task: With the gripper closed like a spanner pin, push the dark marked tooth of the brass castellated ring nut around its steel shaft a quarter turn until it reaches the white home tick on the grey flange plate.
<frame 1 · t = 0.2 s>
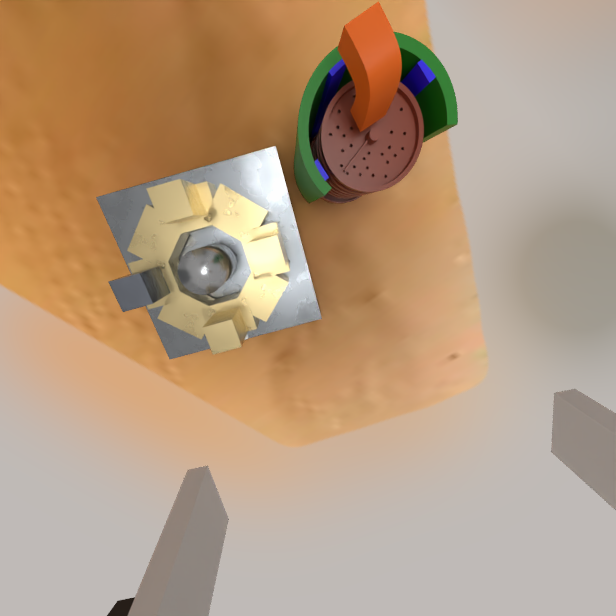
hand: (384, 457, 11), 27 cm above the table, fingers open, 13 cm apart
motor: (334, 163, 34), on the table
ring nut: (208, 268, 31), point 5 cm above the table, hinge at 0.0°
flange plate: (220, 260, 36), on the table
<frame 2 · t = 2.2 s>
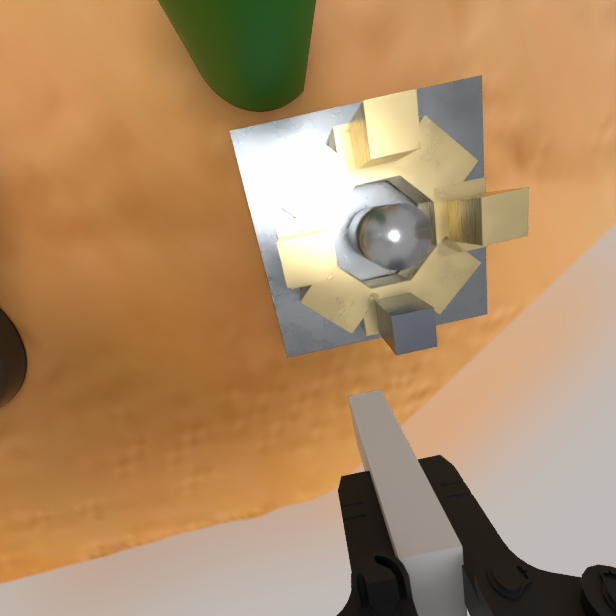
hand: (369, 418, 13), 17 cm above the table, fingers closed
motor: (249, 42, 23), on the table
ring nut: (387, 235, 22), point 5 cm above the table, hinge at 0.0°
flange plate: (368, 232, 27), on the table
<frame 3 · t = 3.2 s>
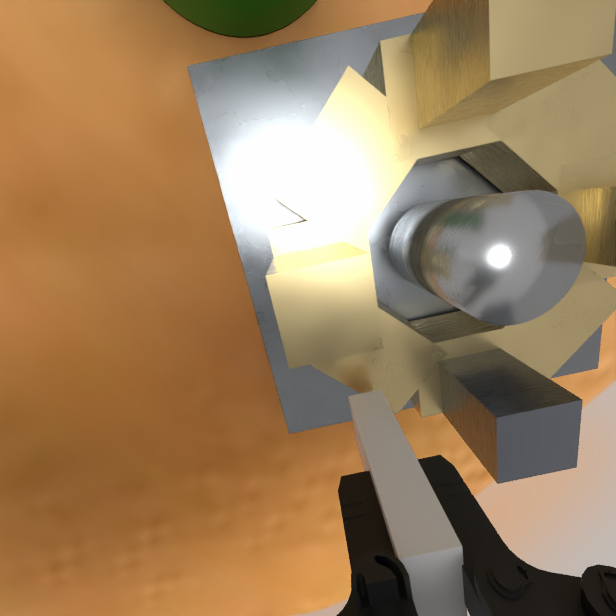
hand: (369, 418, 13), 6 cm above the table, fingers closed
ring nut: (472, 253, 12), point 5 cm above the table, hinge at 0.0°
flange plate: (418, 242, 17), on the table
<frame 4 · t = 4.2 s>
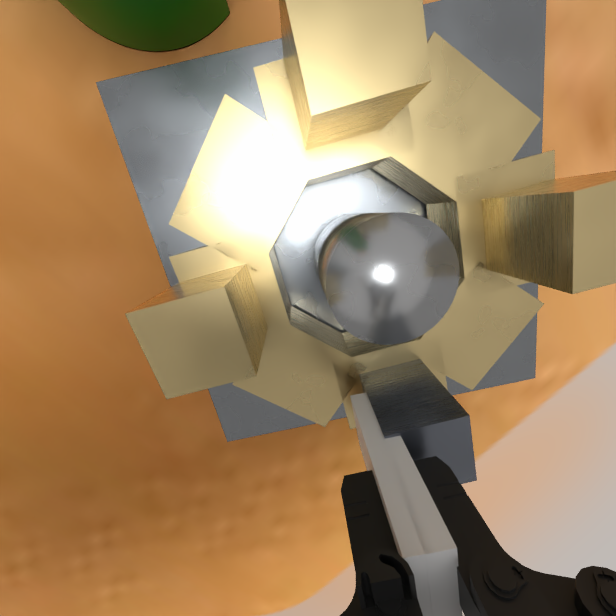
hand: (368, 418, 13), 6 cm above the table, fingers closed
ring nut: (372, 269, 12), point 5 cm above the table, hinge at 2.9°, touching gripper
flange plate: (349, 252, 17), on the table
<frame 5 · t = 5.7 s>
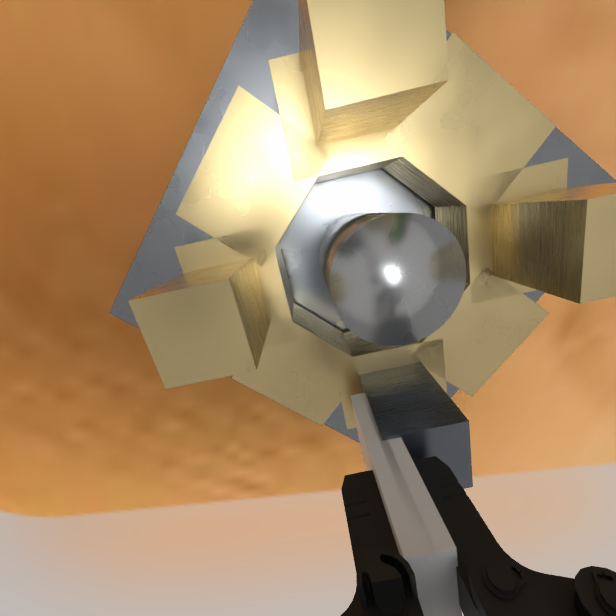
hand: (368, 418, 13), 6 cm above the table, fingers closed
ring nut: (378, 269, 12), point 5 cm above the table, hinge at 44.7°, touching gripper
flange plate: (355, 252, 17), on the table
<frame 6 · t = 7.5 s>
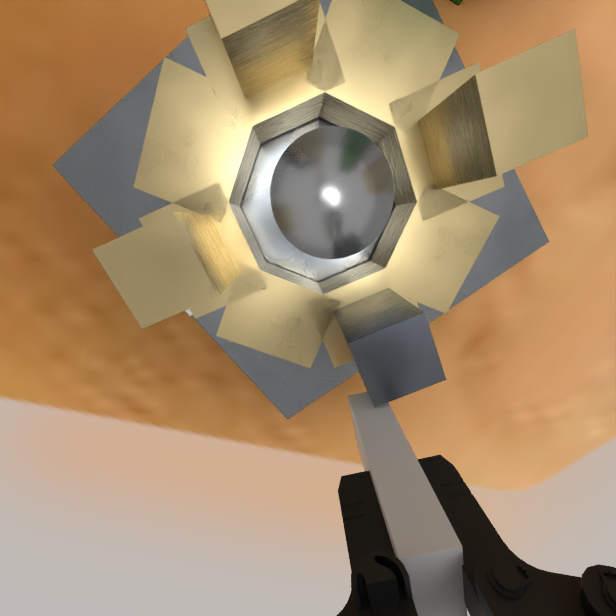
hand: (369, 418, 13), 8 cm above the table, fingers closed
ring nut: (325, 201, 13), point 5 cm above the table, hinge at 76.0°, touching gripper
flange plate: (316, 207, 18), on the table
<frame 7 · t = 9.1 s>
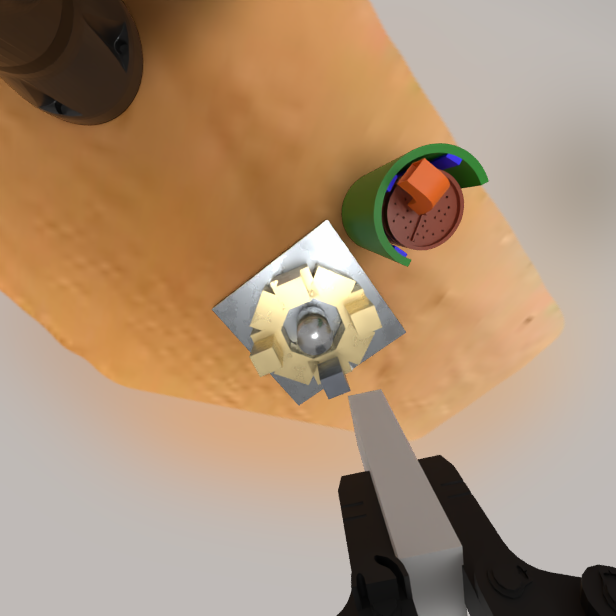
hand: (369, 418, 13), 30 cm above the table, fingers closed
motor: (374, 210, 40), on the table
ring nut: (313, 331, 39), point 5 cm above the table, hinge at 76.0°
flange plate: (311, 317, 44), on the table
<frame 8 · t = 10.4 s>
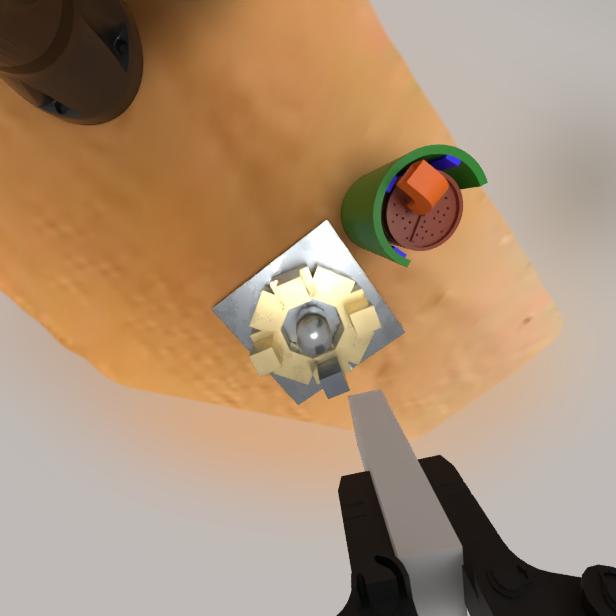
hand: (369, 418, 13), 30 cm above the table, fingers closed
motor: (374, 210, 40), on the table
ring nut: (313, 331, 39), point 5 cm above the table, hinge at 76.0°
flange plate: (310, 317, 44), on the table
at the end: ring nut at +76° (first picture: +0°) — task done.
